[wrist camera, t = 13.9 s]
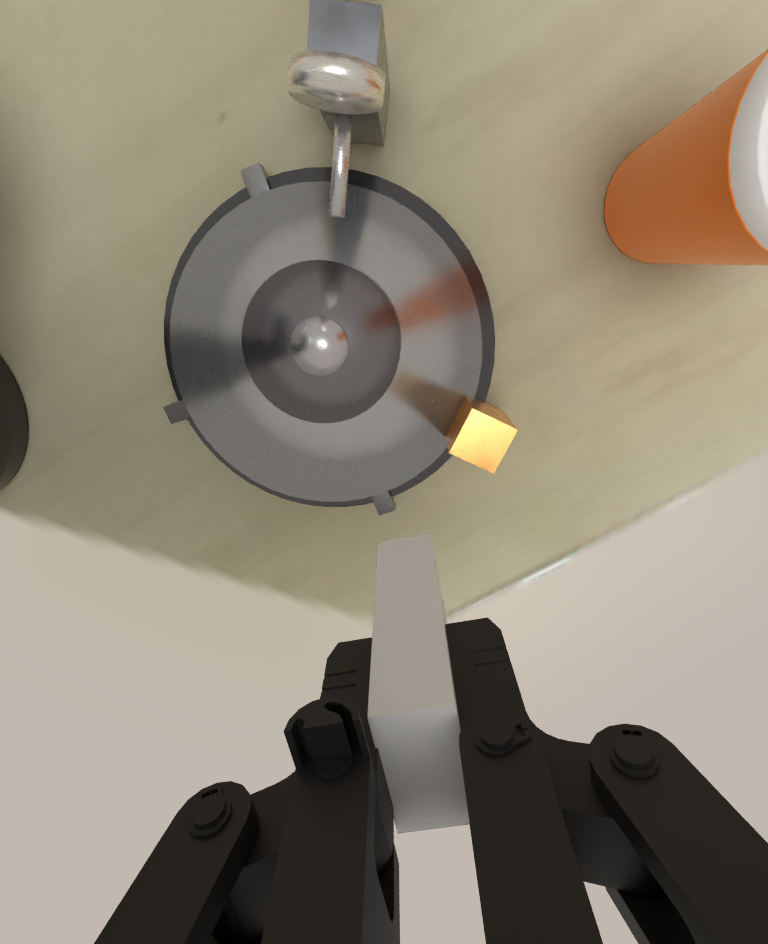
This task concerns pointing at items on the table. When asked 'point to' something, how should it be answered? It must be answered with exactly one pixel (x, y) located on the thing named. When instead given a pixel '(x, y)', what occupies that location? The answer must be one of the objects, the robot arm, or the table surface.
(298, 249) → the platter
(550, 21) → the table surface
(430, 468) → the turntable base
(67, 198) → the table surface
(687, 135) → the shaker bottle
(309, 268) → the cover
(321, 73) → the indicator post
